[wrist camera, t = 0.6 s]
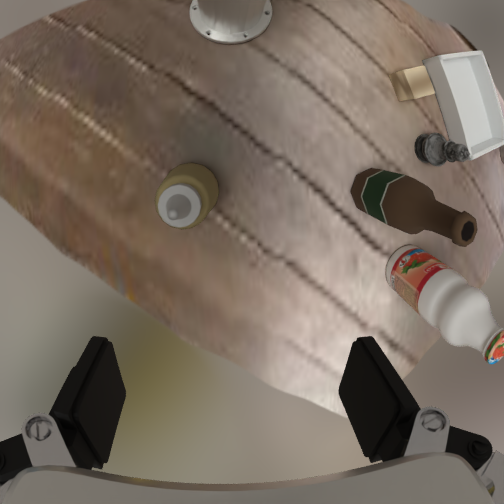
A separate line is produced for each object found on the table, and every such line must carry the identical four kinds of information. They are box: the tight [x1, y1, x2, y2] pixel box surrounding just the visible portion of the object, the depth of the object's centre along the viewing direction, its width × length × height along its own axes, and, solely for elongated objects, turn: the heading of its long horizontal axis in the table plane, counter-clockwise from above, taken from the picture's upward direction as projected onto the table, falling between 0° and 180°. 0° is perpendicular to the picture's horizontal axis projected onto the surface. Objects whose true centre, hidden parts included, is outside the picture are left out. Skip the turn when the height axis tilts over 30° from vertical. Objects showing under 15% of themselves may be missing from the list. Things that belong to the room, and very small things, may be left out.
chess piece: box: [415, 133, 470, 166], centre depth 39 cm, size 6×6×12 cm
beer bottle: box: [351, 168, 477, 247], centre depth 35 cm, size 8×8×24 cm
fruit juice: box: [386, 245, 504, 364], centre depth 39 cm, size 9×9×28 cm
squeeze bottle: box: [155, 163, 219, 229], centre depth 36 cm, size 8×8×18 cm
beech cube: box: [389, 65, 435, 101], centre depth 38 cm, size 5×5×5 cm
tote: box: [422, 51, 504, 161], centre depth 39 cm, size 20×15×5 cm
